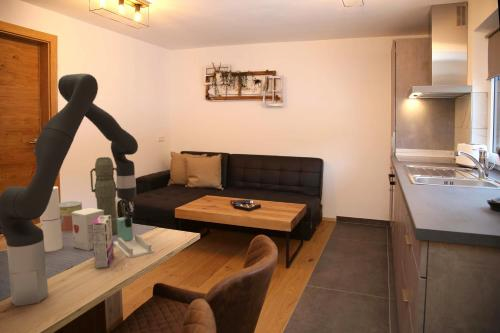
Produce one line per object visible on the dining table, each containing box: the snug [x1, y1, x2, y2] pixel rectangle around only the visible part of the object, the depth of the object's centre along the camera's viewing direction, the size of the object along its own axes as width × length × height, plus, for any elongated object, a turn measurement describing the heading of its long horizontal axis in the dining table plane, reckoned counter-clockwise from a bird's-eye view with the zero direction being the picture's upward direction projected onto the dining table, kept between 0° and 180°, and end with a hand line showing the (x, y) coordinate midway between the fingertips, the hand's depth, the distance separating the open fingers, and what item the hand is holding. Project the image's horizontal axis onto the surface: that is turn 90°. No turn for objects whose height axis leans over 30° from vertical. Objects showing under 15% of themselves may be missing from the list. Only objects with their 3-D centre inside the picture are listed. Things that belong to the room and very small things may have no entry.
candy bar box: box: [92, 215, 115, 269], centre depth 134 cm, size 11×5×16 cm, turn 12°
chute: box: [113, 233, 155, 259], centre depth 149 cm, size 20×10×3 cm, turn 36°
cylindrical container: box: [39, 185, 63, 253], centre depth 148 cm, size 7×7×25 cm
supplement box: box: [72, 207, 104, 251], centre depth 151 cm, size 9×9×15 cm
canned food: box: [59, 200, 83, 233], centre depth 175 cm, size 11×11×12 cm
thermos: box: [89, 156, 117, 237], centre depth 165 cm, size 9×12×35 cm
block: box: [116, 216, 134, 241], centre depth 157 cm, size 5×5×9 cm
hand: (128, 226), depth 153 cm, fingers closed
